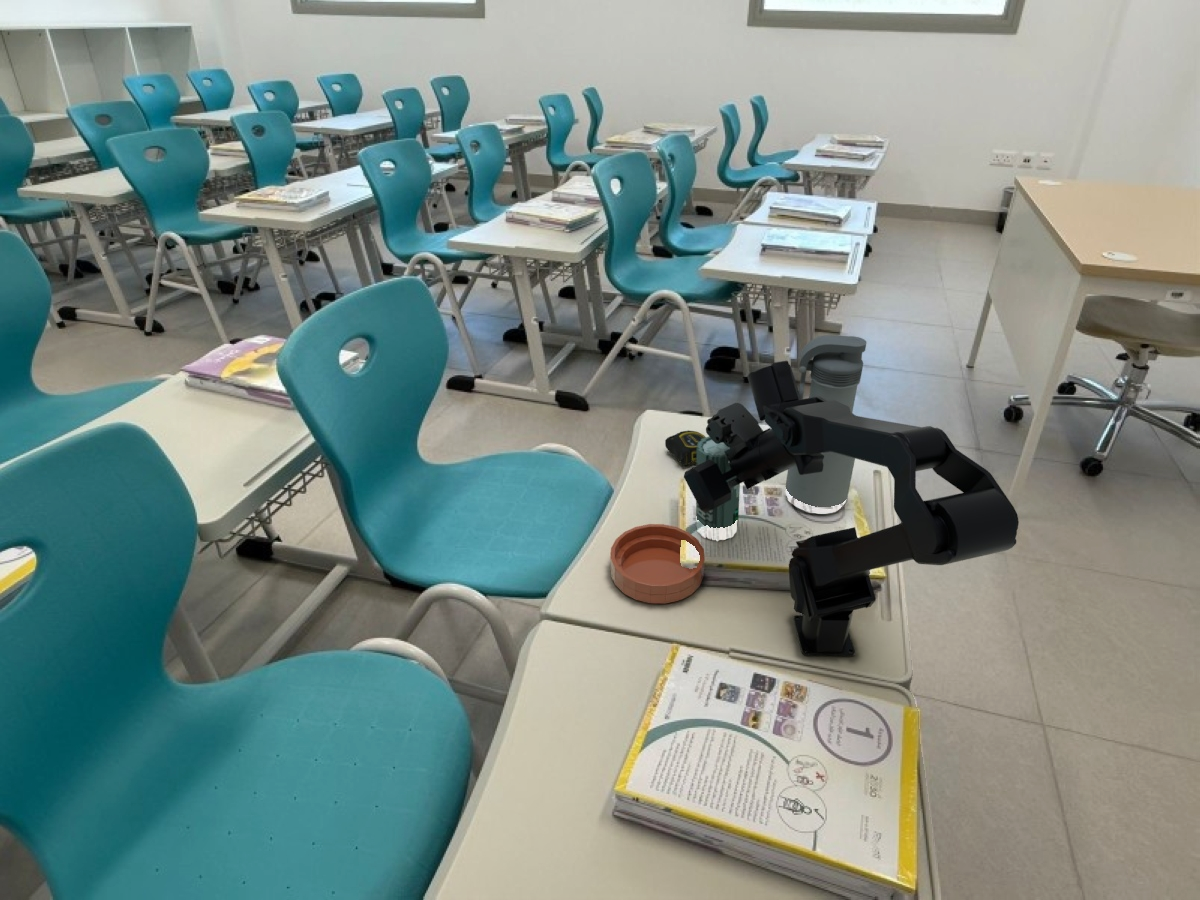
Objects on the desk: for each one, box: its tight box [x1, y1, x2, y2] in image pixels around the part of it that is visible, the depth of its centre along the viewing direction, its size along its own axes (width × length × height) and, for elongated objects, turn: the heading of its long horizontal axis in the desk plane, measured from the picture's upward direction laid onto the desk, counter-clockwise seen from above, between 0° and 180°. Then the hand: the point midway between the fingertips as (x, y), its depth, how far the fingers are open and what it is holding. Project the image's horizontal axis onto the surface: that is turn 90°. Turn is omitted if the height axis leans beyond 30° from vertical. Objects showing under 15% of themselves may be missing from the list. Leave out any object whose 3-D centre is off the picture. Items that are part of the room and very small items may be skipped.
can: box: [695, 435, 741, 528], centre depth 108 cm, size 6×6×15 cm
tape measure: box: [664, 430, 707, 467], centre depth 128 cm, size 7×7×4 cm
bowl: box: [610, 523, 706, 604], centre depth 103 cm, size 13×13×4 cm
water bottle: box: [785, 334, 868, 507], centre depth 110 cm, size 10×10×28 cm
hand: (712, 483), depth 108 cm, fingers closed on can, 6 cm apart
